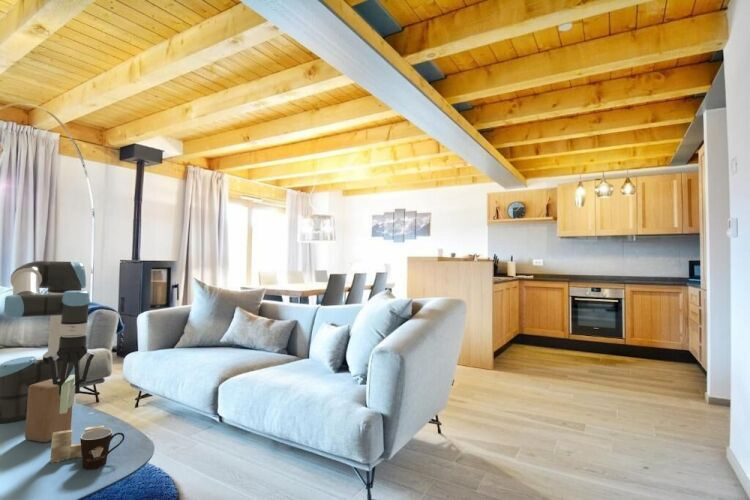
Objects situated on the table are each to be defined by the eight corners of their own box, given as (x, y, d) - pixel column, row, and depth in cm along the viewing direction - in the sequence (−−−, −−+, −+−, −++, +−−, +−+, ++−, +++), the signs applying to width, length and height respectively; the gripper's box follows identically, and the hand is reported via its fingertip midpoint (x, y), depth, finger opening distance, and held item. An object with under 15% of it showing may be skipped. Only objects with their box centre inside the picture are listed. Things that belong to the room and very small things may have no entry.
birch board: (49, 463, 129) (51, 435, 129) (52, 458, 132) (54, 430, 132) (101, 455, 135) (103, 428, 136) (102, 449, 139) (104, 424, 139)
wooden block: (45, 443, 141) (49, 387, 142) (23, 440, 143) (27, 384, 144) (71, 432, 151) (75, 380, 152) (50, 429, 153) (54, 377, 154)
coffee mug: (73, 473, 124) (75, 440, 124) (84, 459, 132) (86, 429, 132) (115, 469, 127) (117, 437, 127) (124, 456, 135) (126, 426, 136)
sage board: (68, 400, 141) (70, 374, 141) (74, 399, 141) (76, 374, 142) (59, 413, 128) (61, 385, 129) (66, 413, 129) (68, 385, 130)
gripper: (43, 338, 130) (38, 410, 130) (97, 336, 137) (93, 404, 137) (49, 334, 137) (44, 402, 136) (100, 332, 144) (96, 397, 143)
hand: (68, 403), depth 136 cm, fingers closed on sage board, 2 cm apart
